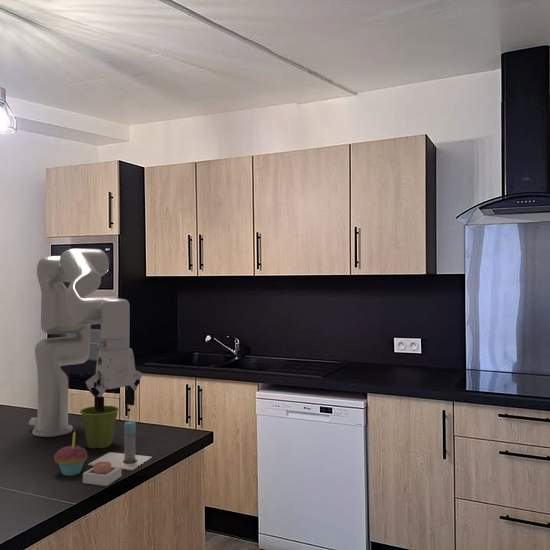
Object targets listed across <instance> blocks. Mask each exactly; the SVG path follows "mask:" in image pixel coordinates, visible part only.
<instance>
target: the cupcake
mask: <svg viewBox="0 0 550 550" xmlns="http://www.w3.org/2000/svg"><path fill="white" fill-rule="evenodd" d="M73 430H74V432H73V433H72V442H71V445H65V446H63V447H62V448H59V449H58V450H57V451H56V452H55V453H54V455H53V457H54V458H53V459H54V462H55V464H58V465H59V468H60V471H61V475H63V476H67V477H68V476H69V477H70V476H76V475H79V474H80V473H81V472H82V468H83V466H84V463H85V461H86V460H87V459H88V452H87V449H85V447H82V446H80V445H76V444H75V443H76V429H73Z"/></svg>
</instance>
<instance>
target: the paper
mask: <svg viewBox="0 0 550 550" xmlns="http://www.w3.org/2000/svg"><path fill="white" fill-rule="evenodd" d="M151 459H153V457H152V456H148V455H140V454H138V455H137V454H135V462H132V463H125V462H124V453H121V452H112V451H109V452H107V453H105V454H104V455H102V456H100V457H98V458H96V459H95V460H93V461H91V462H89V463H88V464H87V466H91V467H94V464H95V463H98V462H110V463H111V466H116V467H122V468H121V470H125V469H126V471H134V470H135V469H138V468H139V467H140V466H141V464H142V465H143V464H145V463H147V461H150V460H151ZM144 462H145V463H144ZM138 466H139V467H138Z"/></svg>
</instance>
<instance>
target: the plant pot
mask: <svg viewBox="0 0 550 550" xmlns="http://www.w3.org/2000/svg"><path fill="white" fill-rule="evenodd" d="M119 411H120V408H119V406H114V405H104V412H99V411H96V410H95V407H94V406H88V407H84V408H81V409H80V410H79V413H80V414H81V418H82V419H81V420H82V421H83V425H84V432H85V438H86V445H87V447H88V448H90V449H97V448H98V449H105V448H109V447H110V446H111V445H112V443H113V438H114V432H115V427H116V422H117V421H116V419H118V418H117V417H118V412H119Z"/></svg>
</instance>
